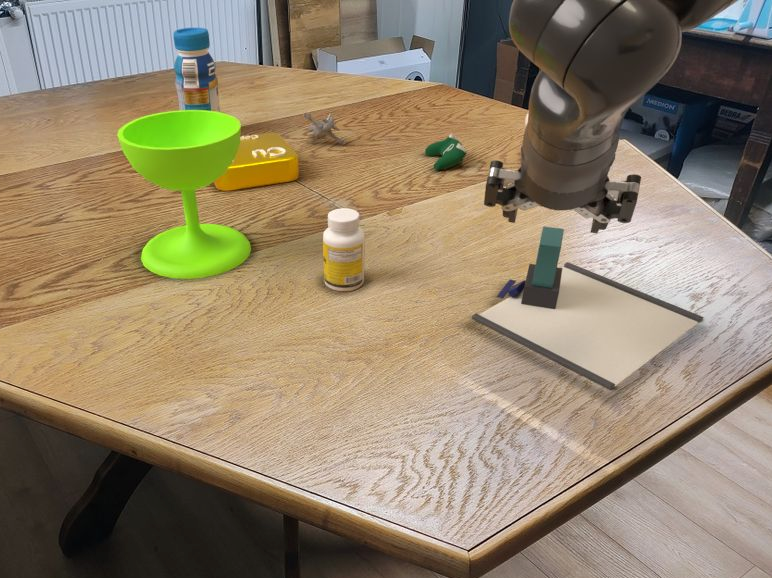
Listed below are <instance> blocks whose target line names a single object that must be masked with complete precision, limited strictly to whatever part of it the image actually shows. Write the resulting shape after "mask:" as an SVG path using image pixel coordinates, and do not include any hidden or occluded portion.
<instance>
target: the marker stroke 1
mask: <svg viewBox="0 0 772 578" xmlns="http://www.w3.org/2000/svg"><path fill="white" fill-rule="evenodd" d="M515 283H516V280H515V279H510V278H509V280H508V281H507V282H506V284H505V285H504V286H503V288H502V289H501V290H500V291H499V293H498V294H497V295H496V298H499V299H504V297H505V296H506V295H507V294H508V290H510V289H511V288H512V287H513V286H514V285H515Z"/></svg>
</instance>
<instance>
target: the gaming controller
mask: <svg viewBox="0 0 772 578" xmlns="http://www.w3.org/2000/svg"><path fill="white" fill-rule="evenodd" d="M424 153H425V155H426V156H428V157H434V156H441V157H439V158H438V159H436V161H435V162H434V163H433V169H435V171H437V172H438V171H443V170H446V169H450V168H451V167H453V166H455V165H457V164H459V163H460V162H463V161H464V158H465V157H466V156H467V153H468V152H467V150H466V147H464V144H462V142H460V141H459V138H458V137H457V136H456V135H455V134H453V133H452V132H451V133H450V134H449V135H448V136H447V137H446V138H444V139H443V140H439V141H435V142H433V143H430V144H429V145H427V147H426V148H425V150H424Z"/></svg>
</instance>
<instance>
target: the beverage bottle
mask: <svg viewBox="0 0 772 578" xmlns="http://www.w3.org/2000/svg"><path fill="white" fill-rule="evenodd" d="M209 33H210V32H209V30H208V29H207V28H204V27H183V28H179V29H175V30H174V31H173V36H172V37H173V42H174V43H173V45H174V48H175V50H176V52H178V54H177V56H176V58H175V60H174V66H173V69H174V70H173V71H174V73H175V76H176V77H175V81H174V83H175V89H176V93H177V101H178V109H179V111H180V110H207V111H216V112H221V105H220V96H219V79H218V76H217V74H216V70H217V66H216V63H215V60H214V58H213V57H212V55H211V53H210V52H209V51H208V50H209V49H210V44H211V43H210V42H211V41H210V34H209Z"/></svg>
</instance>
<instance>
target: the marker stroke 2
mask: <svg viewBox="0 0 772 578" xmlns="http://www.w3.org/2000/svg"><path fill="white" fill-rule="evenodd" d="M525 281H526V279H525V280H522V281H520V282H517V283H516V284H513V285H512V287H511V288H510V289H509V290H508V292H507V294H508V296H509V297H511V296H514V295H516V294H519V293H520V292H521V291H522V290H523V289H524V286H525Z"/></svg>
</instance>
